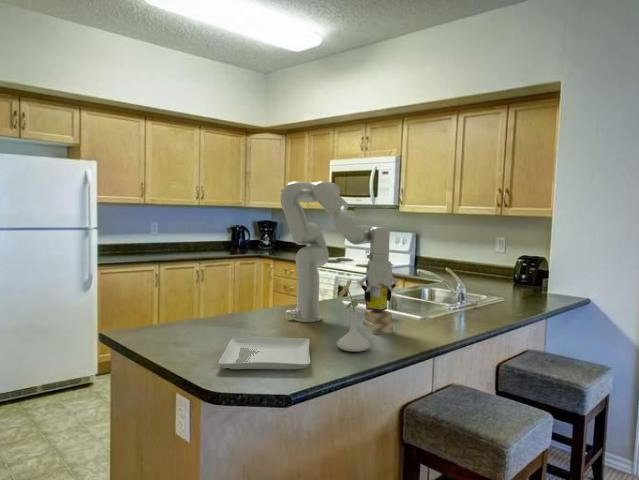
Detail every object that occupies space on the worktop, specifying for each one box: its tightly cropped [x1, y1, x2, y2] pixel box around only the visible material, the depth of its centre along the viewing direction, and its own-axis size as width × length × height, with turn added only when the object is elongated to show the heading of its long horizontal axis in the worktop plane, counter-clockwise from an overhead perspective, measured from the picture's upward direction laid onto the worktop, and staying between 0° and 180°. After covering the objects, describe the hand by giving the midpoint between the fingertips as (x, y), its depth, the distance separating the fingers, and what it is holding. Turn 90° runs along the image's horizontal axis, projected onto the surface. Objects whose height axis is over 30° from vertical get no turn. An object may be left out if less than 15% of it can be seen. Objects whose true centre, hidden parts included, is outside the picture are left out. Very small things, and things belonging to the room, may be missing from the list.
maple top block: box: [364, 309, 393, 325], centre depth 190 cm, size 8×8×4 cm
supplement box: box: [368, 284, 388, 311], centre depth 190 cm, size 6×6×11 cm
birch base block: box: [362, 318, 394, 335], centre depth 190 cm, size 9×9×4 cm
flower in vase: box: [336, 278, 371, 353], centre depth 162 cm, size 13×11×25 cm
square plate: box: [217, 337, 311, 370], centre depth 152 cm, size 27×27×4 cm
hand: (377, 300), depth 190 cm, fingers open, 8 cm apart
